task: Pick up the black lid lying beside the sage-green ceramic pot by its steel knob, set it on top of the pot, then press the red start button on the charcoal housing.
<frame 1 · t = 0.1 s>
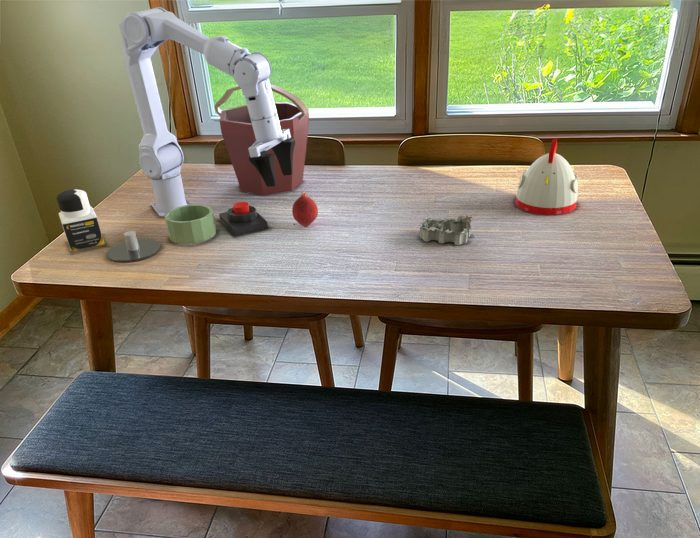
hand: (280, 180, 136), 11 cm above the table, tool pointing down, fingers open, 7 cm apart
kitchen timer: (545, 204, 146), on the table
egg carton: (444, 238, 133), on the table
start button: (241, 208, 141), point 4 cm above the table, slide at 0.1 cm
pot: (193, 236, 139), on the table
button housing: (243, 224, 143), on the table
bucket: (271, 184, 166), on the table
medicine bottle: (86, 245, 138), on the table
onion: (306, 227, 141), on the table
lid: (134, 250, 132), point 1 cm above the table
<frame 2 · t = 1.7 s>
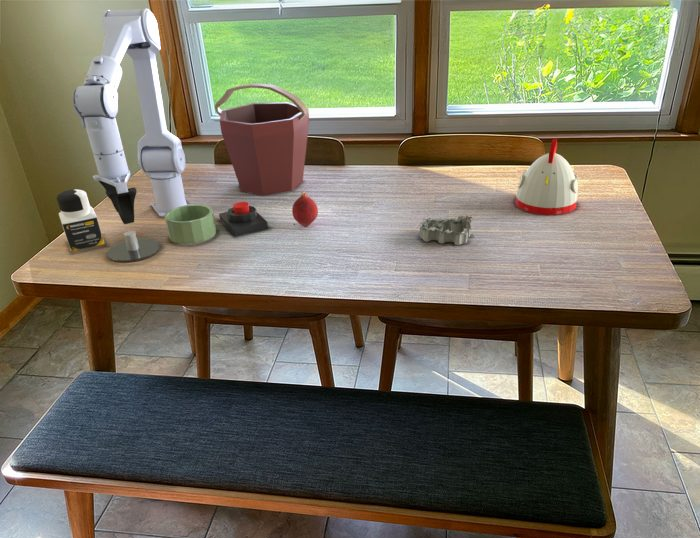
hand: (125, 216, 128), 8 cm above the table, tool pointing down, fingers open, 7 cm apart
nothing on the table moved.
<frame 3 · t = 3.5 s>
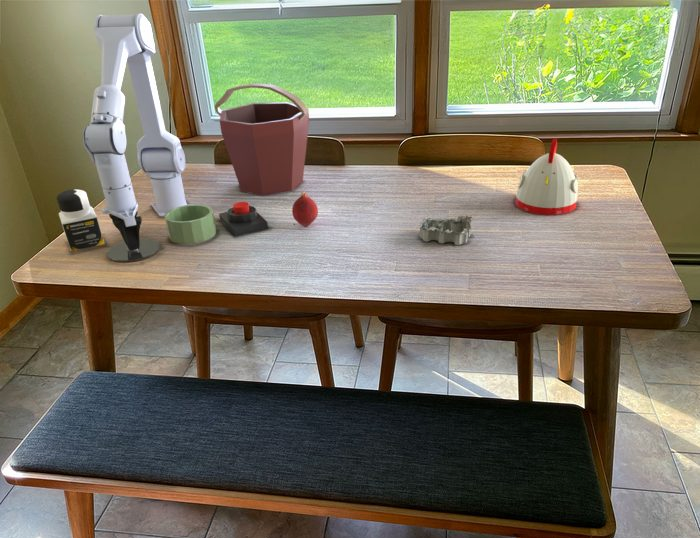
hand: (132, 246, 132), 2 cm above the table, tool pointing down, fingers closed on lid, 2 cm apart
lid: (134, 250, 132), point 1 cm above the table, touching gripper
everything else where it was.
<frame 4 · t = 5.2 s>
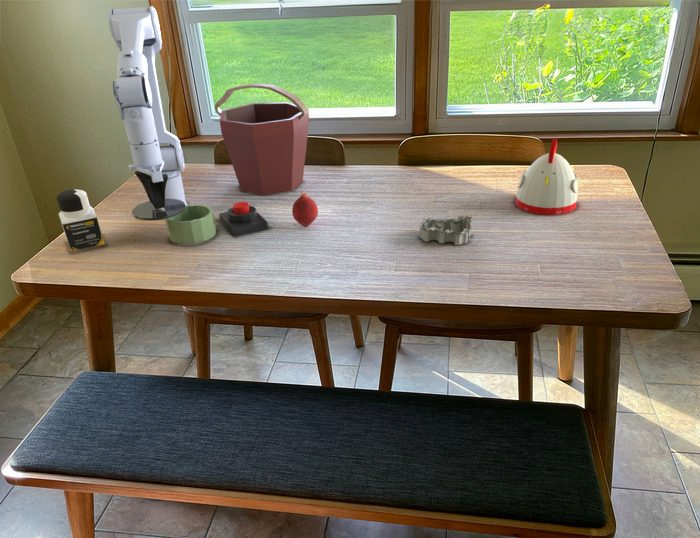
hand: (158, 205, 131), 9 cm above the table, tool pointing down, fingers closed on lid, 2 cm apart
lid: (159, 210, 131), point 8 cm above the table, touching gripper
everything else where it was.
when the fingers open (6 cm above the table, at t = 6.7 s): lid stays where it is, resting on pot.
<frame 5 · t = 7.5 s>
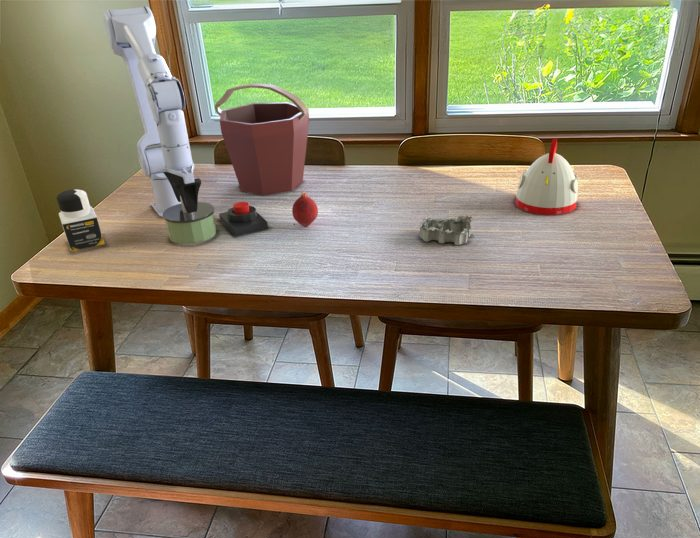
hand: (187, 206, 135), 7 cm above the table, tool pointing down, fingers open, 7 cm apart
lid: (188, 213, 136), point 5 cm above the table, touching pot
everything else where it was.
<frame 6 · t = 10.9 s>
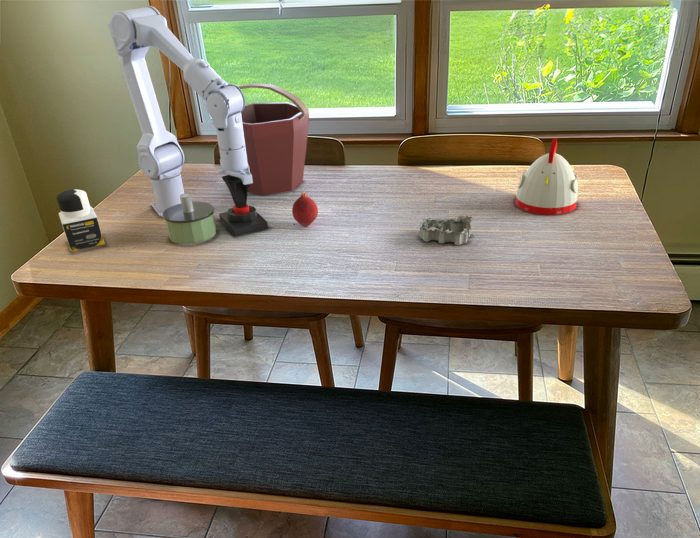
hand: (241, 206, 141), 4 cm above the table, tool pointing down, fingers closed, pressing on start button
start button: (241, 209, 141), point 4 cm above the table, slide at -0.3 cm, touching gripper
everything else where it was.
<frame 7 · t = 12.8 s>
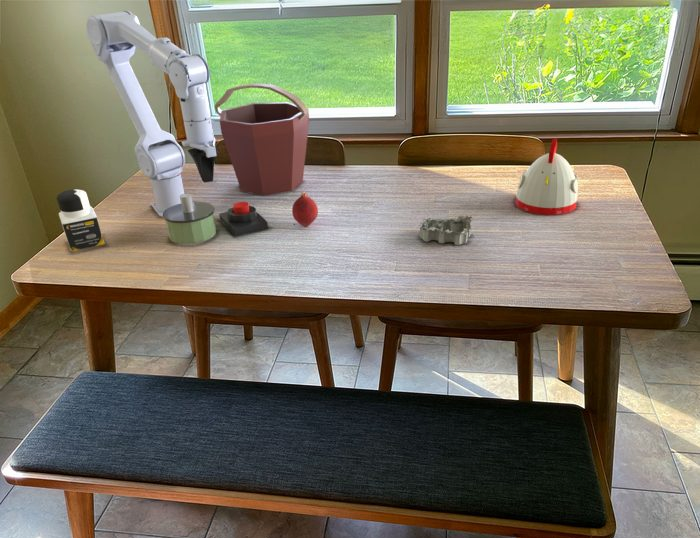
hand: (207, 181, 138), 10 cm above the table, tool pointing down, fingers closed
start button: (241, 208, 141), point 4 cm above the table, slide at 0.1 cm
everything else where it was.
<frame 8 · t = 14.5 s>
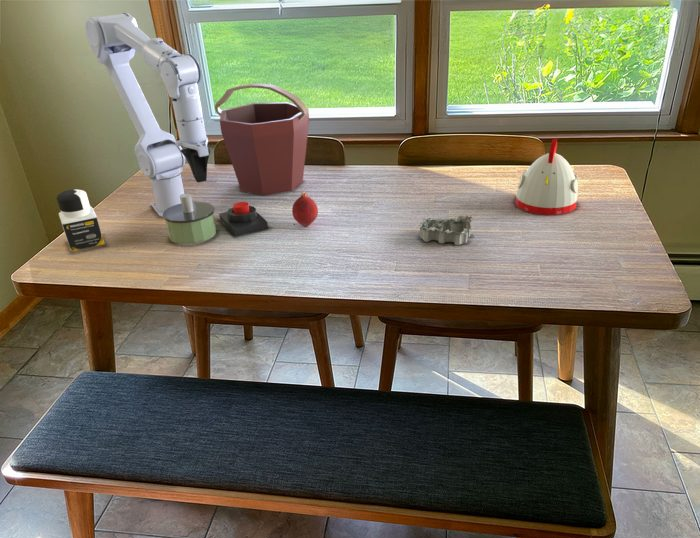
hand: (201, 180, 138), 10 cm above the table, tool pointing down, fingers closed
nothing on the table moved.
at the end: lid 0.0 cm off-centre on the pot, point 5.5 cm above the pot's base; lid tilted 0°; start button pushed in 1.1 cm at the most during the clip, back to where it started at the end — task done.
